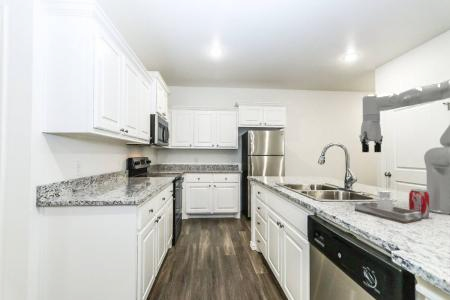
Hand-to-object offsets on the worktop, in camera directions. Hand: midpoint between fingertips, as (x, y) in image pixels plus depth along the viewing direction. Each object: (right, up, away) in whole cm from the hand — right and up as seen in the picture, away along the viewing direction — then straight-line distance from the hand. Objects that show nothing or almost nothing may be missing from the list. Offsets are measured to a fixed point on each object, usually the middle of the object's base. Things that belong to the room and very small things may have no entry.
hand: (371, 152), depth 118 cm
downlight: (-2, -28, -12) cm, 31 cm away
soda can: (+12, -29, -14) cm, 35 cm away
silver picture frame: (-2, -29, -13) cm, 32 cm away
